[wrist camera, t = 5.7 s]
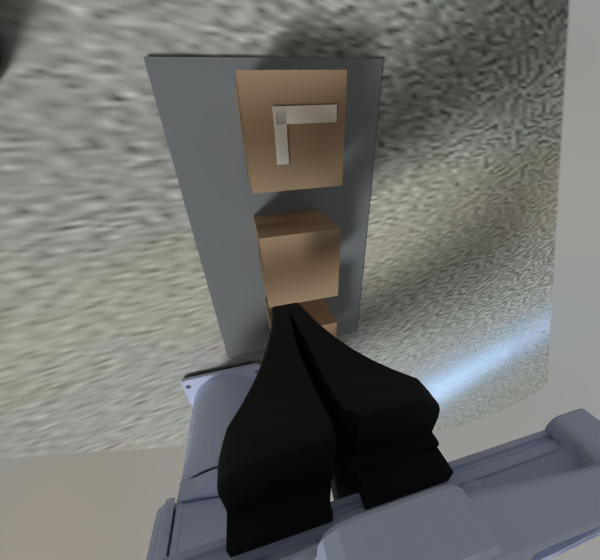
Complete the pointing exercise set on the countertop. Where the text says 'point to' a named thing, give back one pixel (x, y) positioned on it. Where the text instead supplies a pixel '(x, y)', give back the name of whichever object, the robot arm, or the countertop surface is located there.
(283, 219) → the plain block
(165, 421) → the countertop surface
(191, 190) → the mat
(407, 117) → the countertop surface
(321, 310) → the digit block 1
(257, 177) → the digit block 7
